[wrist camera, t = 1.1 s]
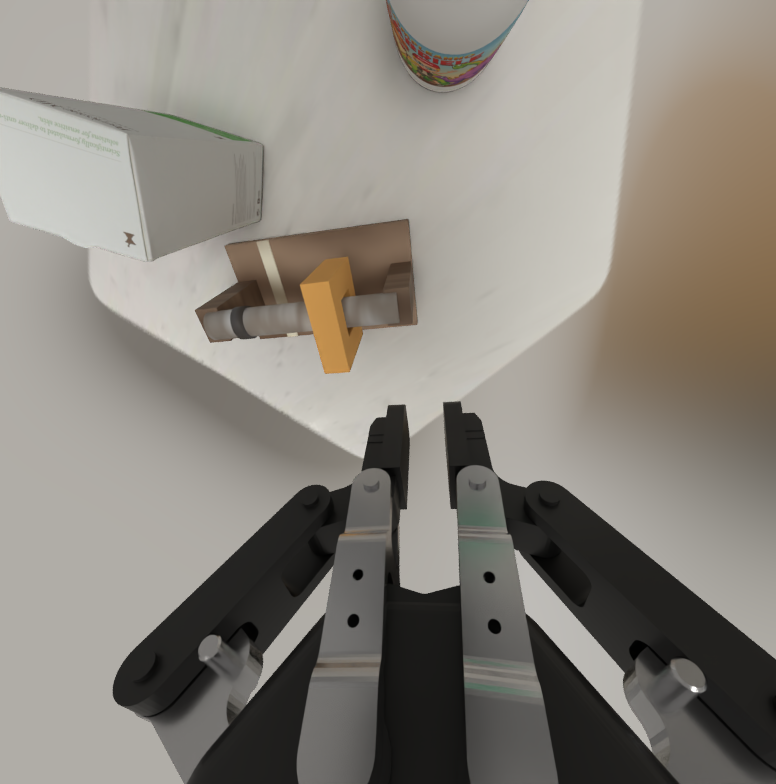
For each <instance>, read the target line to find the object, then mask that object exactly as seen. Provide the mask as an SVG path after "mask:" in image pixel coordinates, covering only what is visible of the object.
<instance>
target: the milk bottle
mask: <svg viewBox="0 0 776 784" xmlns="http://www.w3.org/2000/svg"><path fill="white" fill-rule="evenodd" d="M528 1H529V0H386V3H387V8H388V13H389V17H390V22H391V26H392V31H393V35H394V40H395V44H396V47H397V50H398V53H399V56H400V58H401V61H402V63H403V65H404V67H405V68H406V70H407V71H408V73H409V74H410V76H411V77H412V78H413V79H414V80H415V81H416V82H417V83H419V84H420V85H421V86H423V87H425V88H427V89H429V90H432V91H436V92H450V91H454V90H457V89H460V88H462V87H464V86H465V85H467V84H469V83H470V82H471V81H473V80H474V79H475V78H476V77H477V76H478V75H479V74H480V73H481V72H482V71H483V70H484V68H485V67H486V66H487V65H488V63H489V62H490V60H491V59H492V58H493V56H494V55H495V53H496V52H497V50H498V49H499V47H500V46H501V44H502V43H503V41H504V40H505V38H506V37H507V35H508V34H509V32H510V30H511V29H512V27H513V26H514V24H515V22H516V21H517V19H518V18H519V16H520V15H521V13H522V11H523V9H524V8H525V6H526V4H527V2H528Z"/></svg>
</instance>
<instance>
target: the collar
mask: <svg viewBox="0 0 776 784" xmlns="http://www.w3.org/2000/svg"><path fill="white" fill-rule="evenodd" d="M300 288H301V291H302V295H303V298H304V302H305V305H306V309H307V312H308V316H309V319H310V323H311V326H312V330H313V333H314V337H315V340H316V344H317V348H318V351H319V355H320V358H321V362H322V365H323V369H324V372H325V374H329V373H343V372H350V370H351V367H352V364H353V361H354V358H355V355H356V352H357V349H358V346H359V344H360V341H361V338H362V335H363V332H362V327H350V328H347V325H346V321H345V316H344V312H343V307H342V302H341V300H342V298H343V297H350V296H356V295H355V290H354V285H353V280H352V274H351V269H350V264H349V259H348V257H341V258H333V259H325V260H324V261H323V262H322V263H321V264H320V265H319V266H318V267H317V268H316V269H315V270H314V271H313V272H312V273H311V274H310V275H309V276H308V277H307V278H306V279H305V280H304V281H303V282H302V283H301V284H300Z"/></svg>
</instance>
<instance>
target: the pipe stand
mask: <svg viewBox="0 0 776 784" xmlns="http://www.w3.org/2000/svg"><path fill="white" fill-rule="evenodd" d="M225 249H226V251H227V254H228V256H229V259H230V262H231V264H232V267H233V269H234V272H235V275H236V277H237V280H238V283H236V284H235V285H233V286H231V287H230V288H228V289H227V290H225V291H224V292H222V293H221V294H219V295H218V296H216V297H214V298H213V299H211V300H210V301H208V302H207V303H205V304H204V305H202V306H201V307H199V308H197V309H196V310H195V312H196V314H197V316H198V318H199V320H200V322H201V324H202V327H203V329H204V331H205V333H206V335H207V337H208V339H209V341H210V343H212V342H223V341H231V340H232V339H233V338H240V339H251V338H256V337H257V336H259V337H260V339H266V338H277V337H294V336H299V335H310V334H314V333H313V330H312V326H311V323H310V319H309V316H308V312H307V309H306V305H305V302H304V298H303V295H302V291H301V288H300V284H301V283H302V282H303V281H304V280H305V279H306V278H307V277H308V276H309V275H310V274H311V273H312V272H313V271H314V270H315V269H316V268H317V267H318V266H319V265H320V264H321V263H322V262H323V261H324V260H325V259H333V258H341V257H348V259H349V264H350V269H351V274H352V280H353V285H354V290H355V295H356V296H350V297H343V298H342V300H341V302H342V307H343V312H344V316H345V321H346V325H347V328H350V327H362V330H364V329H375V328H386V327H397V326H408V325H417V311H416V300H415V288H414V277H413V266H412V255H411V243H410V232H409V221H408V219H405V220H398V221H390V222H383V223H376V224H369V225H362V226H355V227H347V228H340V229H333V230H326V231H319V232H311V233H304V234H297V235H290V236H283V237H276V238H268V239H261V240H254V241H247V242H240V243H232V244H228V245H226V246H225Z"/></svg>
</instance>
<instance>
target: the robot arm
mask: <svg viewBox="0 0 776 784" xmlns="http://www.w3.org/2000/svg"><path fill="white" fill-rule="evenodd" d="M443 411H444V430H445V445H446V457H447V469H448V480H449V492H450V505H451V509H457V519H458V549H459V578H460V586H455V587H451V588H447V589H443V590H439V591H435V592H432V593H428V594H421V593H418V592H415V591H411V590H408V589H405V588H402V587H400V575H399V520H400V509H407V493H408V492H407V491H408V471H409V449H410V448H409V447H410V438H409V428H408V420H407V412H406V406H405V405H388V409H387V416H386V417H381V418H376V419H375V421H374V422H373V423H372V425H371V426H370V431H369V437H368V441H367V446H366V451H365V456H364V461H363V466H362V471H361V473H359V474H358V475H357V476H356V477H355V478H354V480H353V483H352V484H351V485H349V486H347V487H345V488H342V489H339V490H335V491H332V492H329V490H328V489H327V488H326V487H324V486H321V485H311V486H308V487H305V488H303V489H302V490H300V491H299V492H298V493H297V494H296V495H295V496H294V497H293V498H292V499H291V500H289V501H288V502H287V503H286V504H285V505H284V506H283V507H282V508H281V509H280V510H279V511H278V512H277V513H276V514H275V515H274V516H273V517H272V518H271V519H270V520H269V521H267V523H265V524H264V525H263V526H262V527H261V528H260V529H259V530H258V531H257V532H256V533H255V534H254V535H253V536H252V537H251V538H250V539H249V540H248V541H247V542H246V543H244V544H243V545H242V546H241V547H240V548H239V549H238V550H237V551H236V552H235V553H234V554H233V555H232V556H231V557H230V558H229V559H228V560H227V561H226V562H225V563H224V564H223V565H222V566H220V568H218V569H217V570H216V571H215V572H214V573H213V574H212V575H211V576H210V577H209V578H208V579H207V580H206V581H205V582H204V583H203V584H202V585H201V586H200V587H199V588H197V589H196V590H195V591H194V592H193V593H192V594H191V595H190V596H189V597H188V598H187V599H186V600H185V601H184V602H183V603H182V604H181V605H180V606H179V607H178V608H177V609H176V610H175V611H174V612H172V613H171V614H170V615H169V616H168V617H167V618H166V619H165V620H164V621H163V622H162V623H161V624H160V625H159V626H158V627H157V628H156V629H155V630H154V631H153V632H152V633H150V634H149V635H148V636H147V638H145V639H144V640H143V641H142V642H141V643H140V644H139V645H138V646H137V647H136V648H135V649H134V650H133V651H132V652H131V653H130V654H129V655H128V657H127V658H126V659H125V661H124V662H123V663H122V665H121V667H120V668H119V670H118V672H117V675H116V677H115V680H114V684H113V697H114V699H115V701H116V702H117V704H119V705H121V706H123V707H125V708H127V709H129V710H131V711H133V712H135V714H136V715H137V716H138V717H140V718H142V719H144V720H146V721H149V722H151V723H152V724H153V726H154V728H155V730H156V732H157V734H158V736H159V737H160V739H161V741H162V743H163V745H164V747H165V749H166V751H167V752H168V754H169V756H170V758H171V760H172V762H173V764H174V765H175V767H176V769H177V771H178V773H179V775H180V777H181V778H182V780H183V782H184V784H776V659H775V658H773V657H772V656H771V655H770V654H768V653H767V652H766V651H765V650H763V649H762V648H761V647H760V646H759V645H757V644H756V643H755V642H754V641H752V640H751V639H750V638H748V637H747V636H746V635H745V634H744V633H743V632H741V631H740V630H738V628H736V627H735V626H734V625H733V624H731V623H730V622H729V621H728V620H727V619H725V618H724V617H723V616H722V615H720V614H719V613H718V612H717V611H715V610H714V609H713V608H712V607H711V606H709V605H708V604H707V603H706V602H704V601H703V600H702V599H701V598H699V597H698V596H697V595H696V594H694V593H693V592H692V591H691V590H689V589H688V588H687V587H686V586H685V585H683V584H682V583H681V582H680V581H678V580H677V579H676V578H675V577H674V576H672V575H671V574H670V573H669V572H667V571H666V570H665V569H664V568H662V567H661V566H660V565H659V564H658V563H656V562H655V561H654V560H653V559H651V558H650V557H649V556H648V555H646V554H645V553H644V552H643V551H641V550H640V549H639V548H638V547H636V546H635V545H634V544H633V543H632V542H630V541H629V540H628V539H627V538H625V537H624V536H623V535H622V534H621V533H619V532H618V531H617V530H615V529H614V528H613V527H612V526H611V525H609V524H608V523H607V522H606V521H604V520H603V519H602V518H601V517H600V516H598V515H597V514H596V513H595V512H593V511H592V510H591V509H590V508H588V507H587V506H586V505H585V504H584V503H582V502H581V501H580V500H579V499H577V498H576V497H575V496H574V495H572V494H571V493H570V492H569V491H568V490H566V489H565V488H564V487H562V486H560V485H559V484H556V483H554V482H550V481H537V482H534V483H532V484H530V485H529V486H528V487H527V488H525V487H521V486H517V485H513V484H509V483H507V482H505V481H503V480H502V479H501V478H499V477H498V476H497V475H496V474H495V472H494V471H493V468H492V465H491V460H490V456H489V452H488V448H487V443H486V439H485V434H484V430H483V426H482V422H481V420H480V419H479V417H477V415H476V414H475V413H462V407H461V402H460V401H458V402H443ZM514 549H516V550H519V552H520V553H521V555H522V556H523V558H524V559H525V560H526V561H527V562H528V563H529V564H530V565H531V567H532V568H533V569H534V570H535V571H536V572H537V573H538V575H539V576H540V577H541V578H542V579H543V580H544V581H545V583H546V584H547V585H548V586H549V587H550V588H551V589H552V590H553V592H554V593H555V594H556V595H557V596H558V597H559V598H560V600H561V601H562V602H563V603H564V604H565V605H566V606H567V608H568V609H569V610H570V611H571V612H572V613H573V614H574V615H575V617H576V618H577V619H578V620H579V621H580V622H581V623H582V624H583V626H584V627H585V628H586V629H587V630H588V631H589V632H590V634H591V635H592V636H593V637H594V638H595V639H596V640H597V641H598V643H599V644H600V645H601V646H602V647H603V648H604V650H605V651H606V652H607V653H608V654H609V655H610V656H611V657H612V659H613V660H614V661H615V662H616V663H617V664H618V665H619V667H620V668H621V669H622V670H623V671H624V672H625V674H624V678H623V688H624V693H625V696H626V699H627V701H628V704H629V706H630V707H631V709H632V711H633V712H634V714H635V715H636V717H637V718H638V720H639V721H640V722H641V724H642V726H643V728H644V729H645V731H646V733H647V736H648V738H649V740H650V744H651V747H652V752H651V751H650V750H649V749H648V747H647V746H646V745H645V744H644V743H643V742H642V741H641V740H640V738H639V737H638V736H637V735H636V734H635V733H634V732H633V731H632V730H631V728H630V727H629V726H628V725H627V724H626V723H625V722H624V720H623V719H622V718H621V717H620V716H619V715H618V714H617V713H616V712H615V711H614V709H613V708H612V707H611V706H610V705H609V704H608V703H607V702H606V700H605V699H604V698H603V697H602V696H601V695H600V694H599V692H598V691H596V689H595V688H594V687H593V686H592V685H591V684H590V683H589V681H588V680H587V679H586V678H585V677H584V676H583V675H582V673H581V672H580V671H579V670H578V669H577V668H576V667H575V666H574V664H573V663H572V662H571V661H570V660H569V659H568V658H567V657H566V656H565V654H563V652H562V651H561V650H560V649H559V648H558V647H557V645H556V644H555V643H554V642H553V641H552V640H551V639H550V638H549V636H548V635H547V634H546V633H545V632H544V631H543V630H542V629H541V628H540V626H539V625H538V624H537V623H536V622H535V621H534V620H533V619H532V618H530V617H529V616H528V615H527V614H526V613H525V609H524V603H523V597H522V592H521V587H520V580H519V575H518V569H517V564H516V559H515V553H514ZM333 565H334V566H333ZM332 567H333V573H332V578H331V584H330V590H329V596H328V602H327V609H326V613H325V614H324V615H323V616H322V617H321V618H320V619H319V621H318V622H317V623H316V624H315V625H314V626H313V628H312V629H311V630H310V631H309V632H308V634H307V635H306V636H305V637H304V638H303V639H302V641H301V642H300V643H299V644H298V645H297V646H296V648H295V649H294V650H293V651H292V652H291V653H290V655H289V656H288V657H287V658H286V659H285V661H284V662H283V663H282V664H281V665H280V666H279V667H278V669H277V670H276V671H275V672H274V673H273V675H272V676H271V677H270V678H269V679H268V680H267V682H266V683H265V684H264V685H263V686H262V687H261V689H260V690H259V691H258V692H257V693H256V694H255V696H254V697H253V698H252V699H251V700H250V701H249V703H248V704H247V705H246V703H247V701H248V698H249V696H250V694H251V692H252V691H253V690H254V689H255V687H256V686H257V684H258V680H259V678H260V676H261V673H262V668H263V653H264V652H265V651H266V650H267V648H268V647H269V646H270V645H271V643H272V642H273V641H274V639H275V638H276V637H277V636H278V635H279V633H280V632H281V631H282V630H283V628H284V627H285V626H286V624H287V623H288V622H289V621H290V619H291V618H292V617H293V616H294V614H295V613H296V612H297V611H298V609H299V608H300V607H301V605H302V604H303V603H304V602H305V601H306V599H307V598H308V597H309V596H310V594H311V593H312V592H313V590H314V589H315V588H316V587H317V585H318V584H319V583H320V581H321V580H322V579H323V578H324V577H325V575H326V574H327V573H328V572H329V570H330V569H331V568H332Z"/></svg>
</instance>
